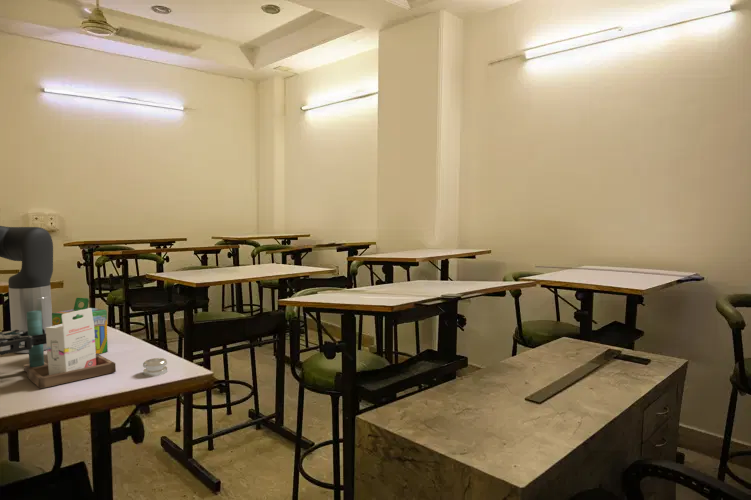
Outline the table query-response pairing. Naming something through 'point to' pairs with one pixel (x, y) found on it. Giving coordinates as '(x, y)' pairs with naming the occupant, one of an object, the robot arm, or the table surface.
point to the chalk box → (98, 319)
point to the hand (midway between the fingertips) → (47, 335)
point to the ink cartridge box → (71, 343)
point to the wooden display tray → (40, 367)
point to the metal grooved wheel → (155, 367)
